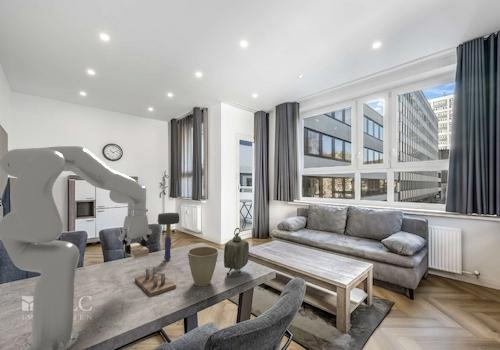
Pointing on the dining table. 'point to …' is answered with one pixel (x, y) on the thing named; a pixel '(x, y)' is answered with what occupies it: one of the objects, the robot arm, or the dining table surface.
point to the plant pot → (202, 264)
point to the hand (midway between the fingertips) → (135, 251)
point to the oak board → (137, 250)
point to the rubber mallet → (168, 229)
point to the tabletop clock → (236, 253)
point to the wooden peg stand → (154, 282)
